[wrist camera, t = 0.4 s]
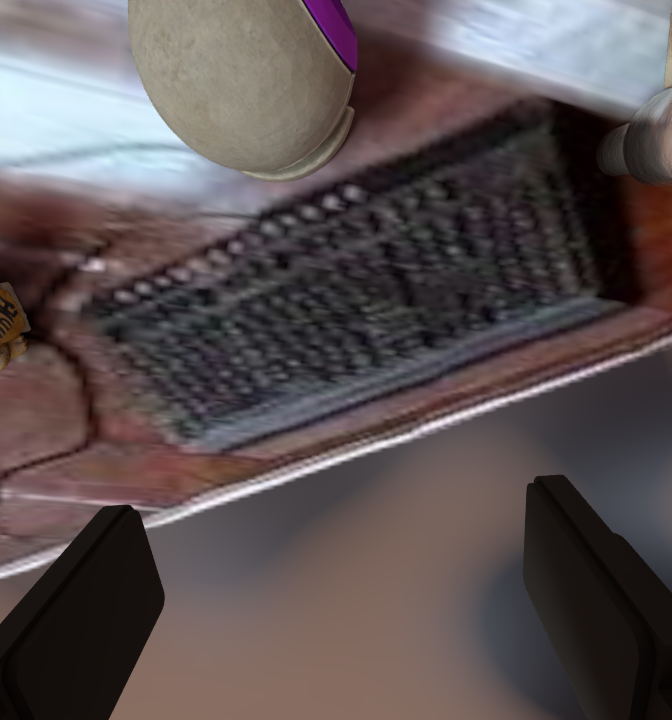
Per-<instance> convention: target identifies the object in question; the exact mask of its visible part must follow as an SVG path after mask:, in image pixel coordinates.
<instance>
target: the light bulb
mask: <svg viewBox="0 0 672 720" xmlns="http://www.w3.org/2000/svg"><path fill="white" fill-rule="evenodd" d="M596 162H597V165H598V167H599V169H600V170H601V171H602V172H603V173H605V174H606V175H609V176H620V175H626V174H631V175H632V176H633V177H634V178H635V179H636V180H637V181H639V182H641V183H643V184H645V185H649V186H655V187H661V186H671V185H672V88H670V89H668V90H665V91H663V92H661V93H659V94H657V95H655V96H654V97H652V98H651V99H649V100H648V101H647V102H646V103H644V104H643V105H642V106H641V107H640V109H639V110H638V111H637V112H636V114H635V115H634V116H633V118H632V120H631V121H630V123H629V124H626V125H623V126H621V127H618V128H615V129H613V130H611V131H610V132H608V133H607V134H606V135H605V136H604V137H603V138H602V140H601V141H600V143H599V145H598V148H597V151H596Z"/></svg>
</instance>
